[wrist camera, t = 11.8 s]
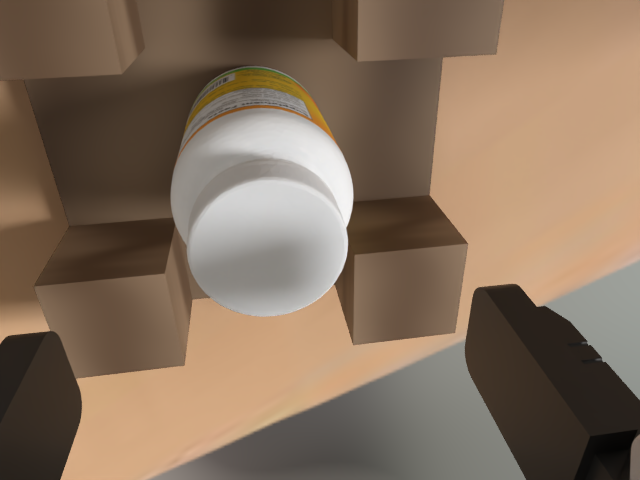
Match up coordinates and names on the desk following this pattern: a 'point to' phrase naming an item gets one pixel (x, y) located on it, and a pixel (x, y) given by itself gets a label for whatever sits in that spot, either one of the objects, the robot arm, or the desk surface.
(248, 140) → the supplement bottle
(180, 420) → the desk surface
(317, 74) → the cross slot block
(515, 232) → the desk surface
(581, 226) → the desk surface
